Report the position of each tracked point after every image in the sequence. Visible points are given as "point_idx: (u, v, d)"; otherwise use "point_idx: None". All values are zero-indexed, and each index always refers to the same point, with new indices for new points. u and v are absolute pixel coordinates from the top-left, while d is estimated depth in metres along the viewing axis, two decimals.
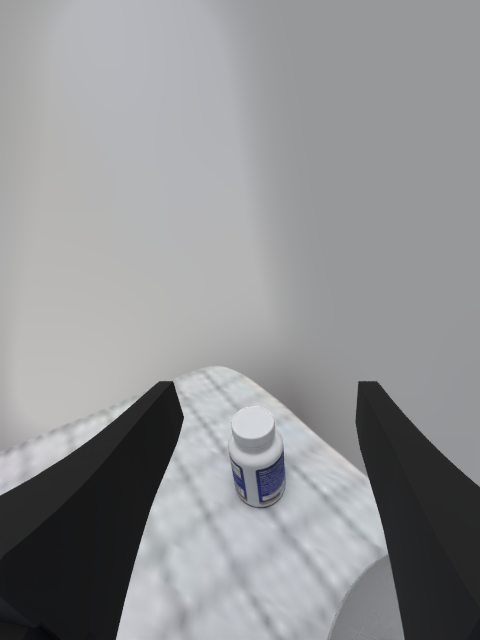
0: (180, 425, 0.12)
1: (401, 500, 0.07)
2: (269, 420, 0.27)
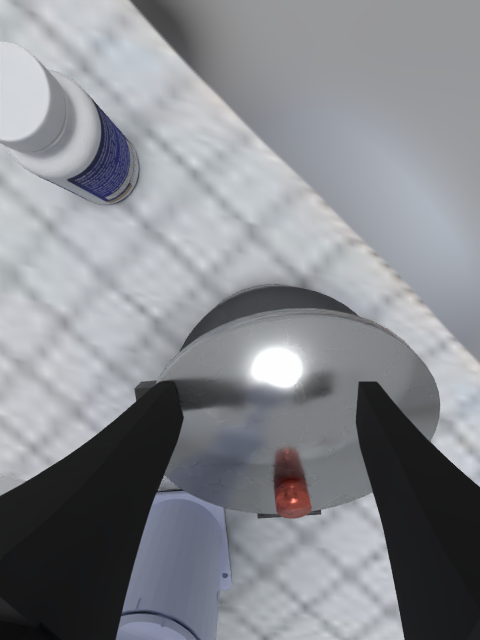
0: (180, 425, 0.12)
1: (401, 500, 0.07)
2: (38, 84, 0.13)
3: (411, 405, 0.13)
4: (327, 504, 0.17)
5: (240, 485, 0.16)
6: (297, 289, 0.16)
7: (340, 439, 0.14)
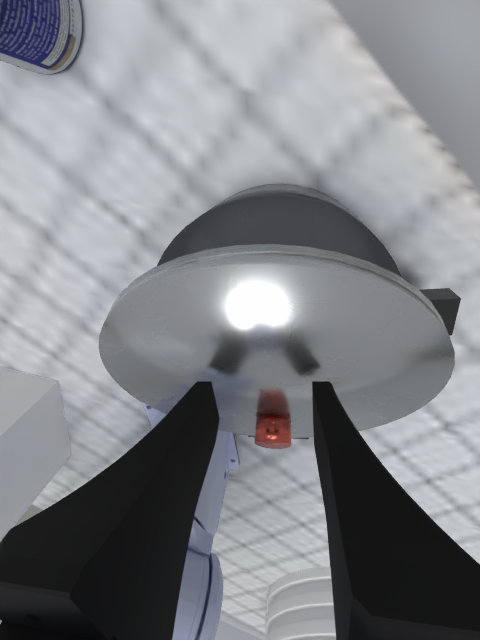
0: (217, 426, 0.12)
1: (330, 495, 0.07)
2: None
3: (414, 364, 0.10)
4: None
5: (222, 416, 0.16)
6: (291, 198, 0.12)
7: None
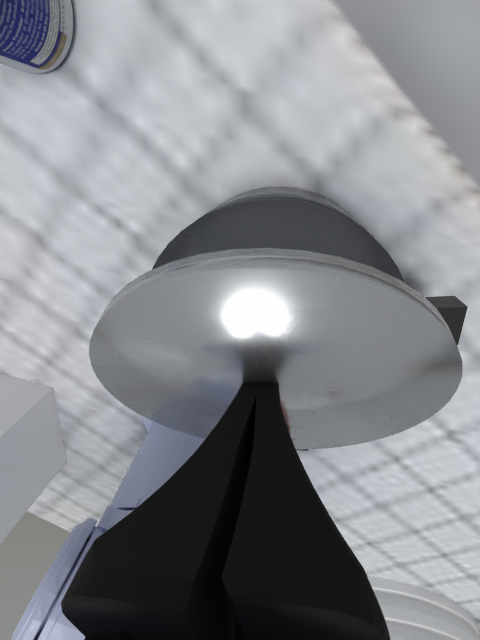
0: None
1: None
2: None
3: (419, 375, 0.10)
4: (315, 446, 0.16)
5: None
6: (290, 203, 0.11)
7: (324, 400, 0.12)
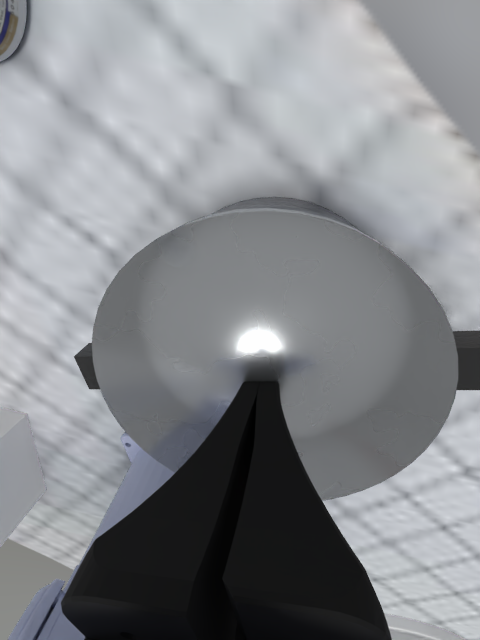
0: None
1: None
2: None
3: (415, 354, 0.10)
4: None
5: None
6: None
7: (322, 400, 0.11)
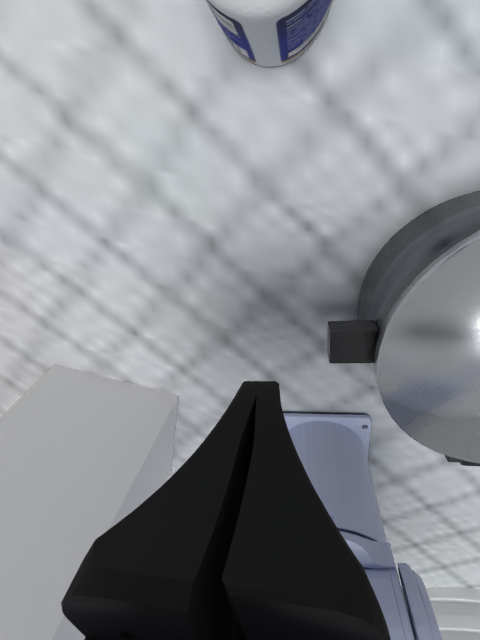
0: None
1: None
2: None
3: None
4: None
5: (460, 419, 0.15)
6: None
7: None
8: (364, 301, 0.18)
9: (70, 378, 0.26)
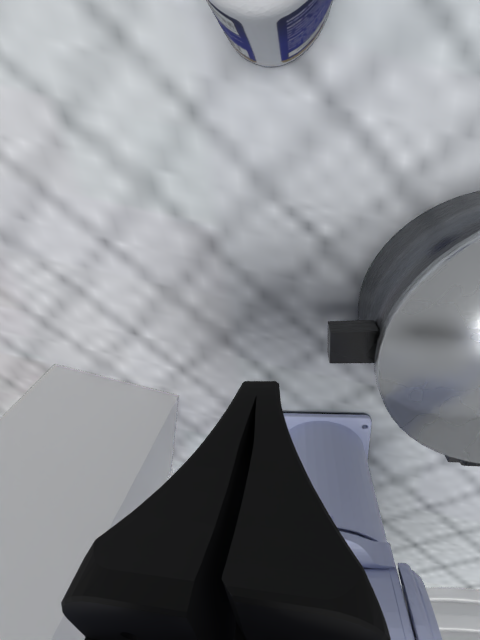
0: None
1: None
2: None
3: None
4: None
5: (460, 419, 0.15)
6: None
7: None
8: (364, 301, 0.18)
9: (70, 378, 0.26)
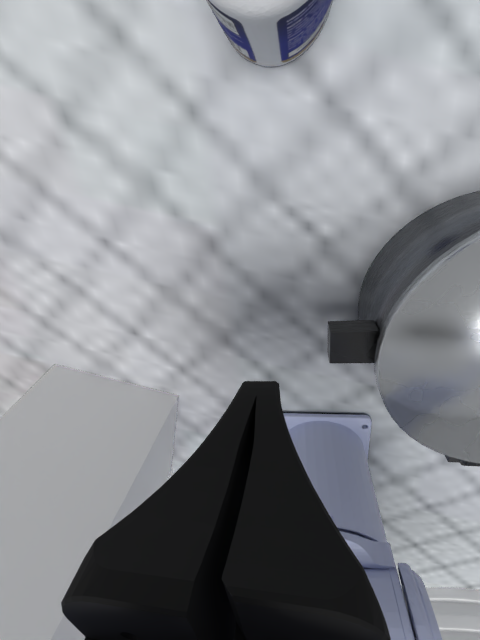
0: None
1: None
2: None
3: None
4: None
5: (460, 419, 0.15)
6: None
7: None
8: (364, 301, 0.18)
9: (70, 378, 0.26)
